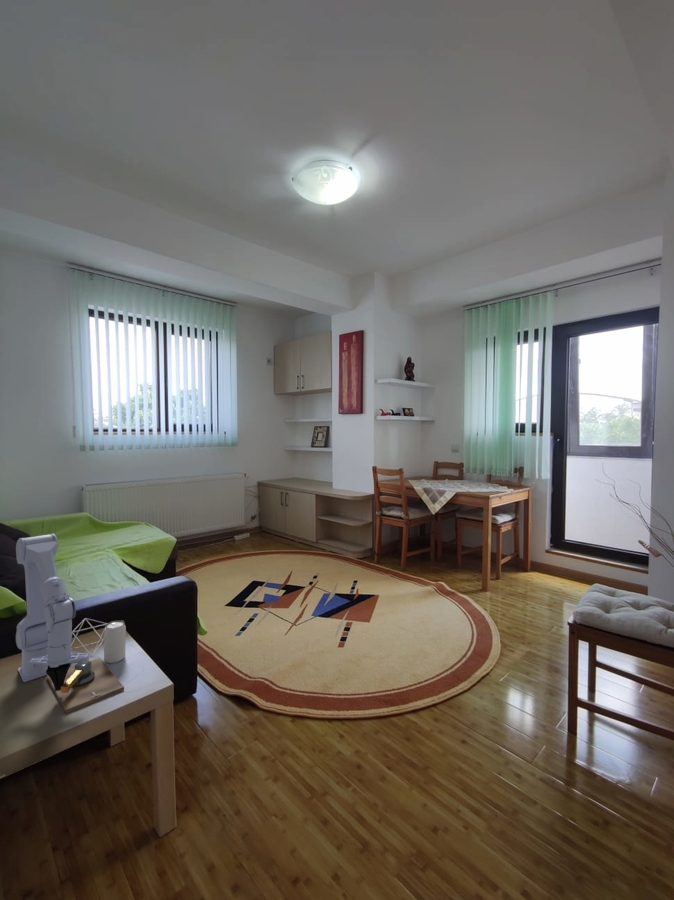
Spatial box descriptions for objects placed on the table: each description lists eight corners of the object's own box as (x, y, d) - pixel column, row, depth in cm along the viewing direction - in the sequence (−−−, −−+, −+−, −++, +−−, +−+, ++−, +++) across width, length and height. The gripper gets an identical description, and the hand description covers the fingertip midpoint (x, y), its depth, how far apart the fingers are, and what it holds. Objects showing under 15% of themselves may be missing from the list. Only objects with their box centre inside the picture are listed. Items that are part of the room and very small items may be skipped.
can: (120, 651, 145) (121, 618, 144) (128, 658, 141) (129, 624, 140) (100, 658, 140) (101, 624, 139) (108, 666, 136) (109, 630, 135)
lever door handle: (75, 672, 129) (75, 660, 129) (98, 671, 130) (98, 659, 130) (50, 700, 116) (51, 686, 116) (77, 699, 117) (77, 685, 117)
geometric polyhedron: (92, 638, 154) (92, 614, 153) (114, 643, 150) (114, 619, 150) (60, 654, 142) (60, 628, 141) (83, 661, 138) (83, 635, 138)
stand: (46, 678, 128) (46, 674, 128) (99, 660, 139) (99, 657, 139) (66, 713, 113) (66, 709, 113) (123, 689, 124) (124, 686, 124)
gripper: (23, 652, 112) (23, 700, 113) (82, 647, 116) (82, 694, 116) (36, 639, 119) (35, 684, 120) (91, 635, 123) (90, 679, 123)
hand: (59, 688), depth 119 cm, fingers closed
